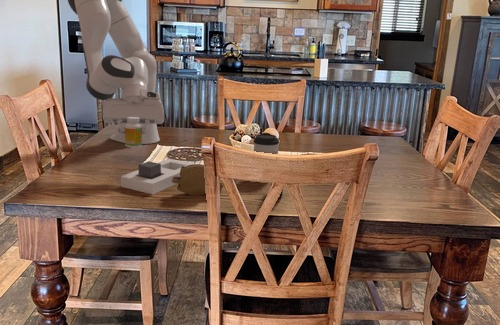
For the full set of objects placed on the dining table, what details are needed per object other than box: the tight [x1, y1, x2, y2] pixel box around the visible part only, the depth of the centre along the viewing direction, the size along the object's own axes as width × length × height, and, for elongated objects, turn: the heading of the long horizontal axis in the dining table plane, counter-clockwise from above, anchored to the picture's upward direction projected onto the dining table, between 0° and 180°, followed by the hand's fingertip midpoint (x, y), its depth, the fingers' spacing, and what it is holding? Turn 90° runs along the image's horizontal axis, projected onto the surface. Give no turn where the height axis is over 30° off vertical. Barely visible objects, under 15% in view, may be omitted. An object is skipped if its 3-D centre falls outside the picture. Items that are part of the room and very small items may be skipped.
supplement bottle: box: [124, 116, 143, 148], centre depth 159 cm, size 5×5×10 cm
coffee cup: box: [253, 132, 280, 155], centre depth 167 cm, size 9×9×15 cm
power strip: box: [120, 158, 195, 195], centre depth 160 cm, size 13×25×7 cm, turn 151°
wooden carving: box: [172, 163, 224, 197], centre depth 148 cm, size 16×5×10 cm, turn 98°
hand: (133, 132), depth 159 cm, fingers closed on supplement bottle, 5 cm apart
